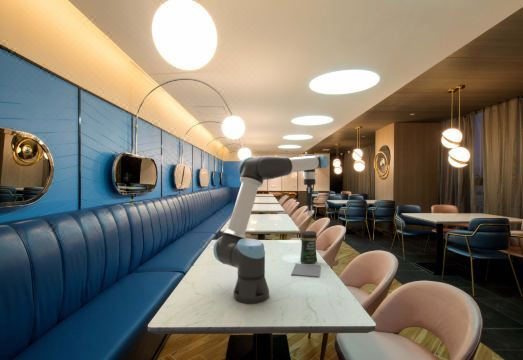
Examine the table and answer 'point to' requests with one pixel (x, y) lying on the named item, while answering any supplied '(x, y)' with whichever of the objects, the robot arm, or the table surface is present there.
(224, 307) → the table surface
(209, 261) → the table surface
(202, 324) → the table surface
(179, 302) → the table surface
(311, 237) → the coffee jar
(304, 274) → the mat
